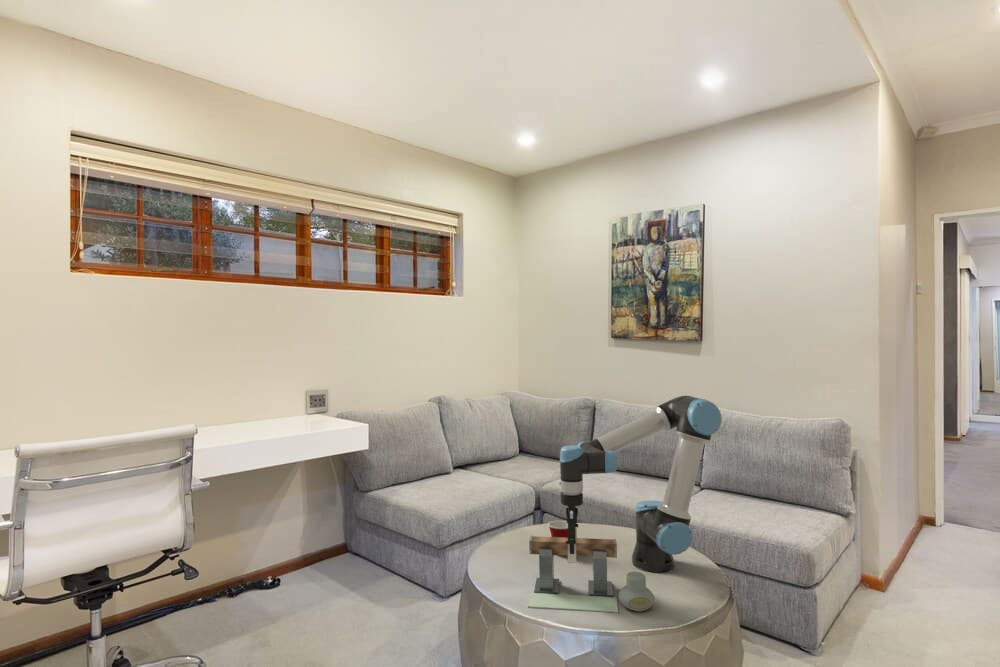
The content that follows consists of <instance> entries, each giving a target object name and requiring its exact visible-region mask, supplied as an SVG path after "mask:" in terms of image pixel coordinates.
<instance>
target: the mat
mask: <svg viewBox="0 0 1000 667" xmlns="http://www.w3.org/2000/svg"><path fill="white" fill-rule="evenodd" d="M529 596H530V598H529V602H528V606H527V608H529V609H531V608H532V609H545V610H546V609H547V610H548V609H549V610H563V611H564V610H565V611H567V610H568V611H582V612H598V613H600V612H601V613H617V614H618V613H619V608H618V600H617V596H615V597H614V596H613V597H600V596H589V595H579V594H578V595H576V594H559V593H558V594H543V593H534V592H530V594H529Z"/></svg>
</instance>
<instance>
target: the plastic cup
mask: <svg viewBox="0 0 1000 667" xmlns="http://www.w3.org/2000/svg"><path fill="white" fill-rule="evenodd" d="M547 525H548V527H549V532H550V537H562V538H568V523H567V520H552V521H549V522H548V523H547ZM561 556H563V557H566V556H565V555H558V556H557V557H561Z"/></svg>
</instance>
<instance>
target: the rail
mask: <svg viewBox="0 0 1000 667" xmlns="http://www.w3.org/2000/svg"><path fill="white" fill-rule="evenodd" d="M570 540H571V539H570ZM566 541H568V538H562V537H551V536H534V535H530V537H529V541H528V543H529V546H528V547H529V551H528V552H529V555H539V548H552V555H554V556H557V555H565V556H564V557H568V544H566ZM593 550H602V551H607V558H618V544H617V538H613V539H612V538H587V537H586V538H585V537H577V538H576V557H587V558H588V557H590V558H593Z"/></svg>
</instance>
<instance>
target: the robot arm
mask: <svg viewBox="0 0 1000 667" xmlns="http://www.w3.org/2000/svg"><path fill="white" fill-rule="evenodd" d="M719 409H720V408H719V407H718V406H717V405H716V404H715V403H714V402H712V401H709V400H707V399H705V398H700V397H694V396H691V395H681V396H678V397H675V398H672V399H670V400H667V401H665V402H664V403H661V404H659V405H657V406H655V407H654V409H653V411H651V412H649V413H646V414H645V415H643V416H641V417H639V418H638V417H637V419H634V420H633V421H632V420H631V422H628V423H626V424H624V425H621V426H619V427H618V428H616V429H614V430H612V431H609V432H607V433H605V434H603V435H601V436H599V437H597V438H595V439H592V440H590V441H581V442H579V443H578V444H577V445H571V444H569V445H564V446H562V447H561V448H560V450H559V452H560V453H559V464H560V465H559V468H560V481H559V482H558V485H559V486H560V503H561V504H562V505H563V506H567V507H566V508H565V516H566V521H567V523H568V541H566V544H568V556H567V563H568V564H577V556H576V538H578V537H577V536H578V532H577V530H578V529H577V528H579V524H578V515H579V514H578V513H579V511H578V510H579V509H578V507H580V506H581V505H583V504H584V494H583V491H584V482H583V481H584V480H583V476H584V475H592V474H594V475H596V474H597V475H598V474H606V475H608V474H611V473H616V471H617V470H618V456H617V454H616V453H617V452H620V451H622V450H624V449H626V448H628V447H630V446H632V445H635V444H637V443H639V442H641V441H642V440H645V439H646V438H649V437H651V436H652V435H653V436H654V435H655V434H657V433H659V432H661V431H664V430H665V431H670V430H673V429H674V428H676V431H675V432H676V434H677V436H678V442H677V445H676V450H675V453H674V456H673V461H672V466H671V470H670V473H669V477H668V481H667V485H666V489H665V493H664V497H663V501H662V500H643V501H639V502H637V503H636V505H635V511H634V512H635V533H636V534H635V535H636V536H635V538H636V542H635V546H634V548H633V551H632V556H631V564H632V565H633V566H634V567H636V568H638V569H640V570H642V571H645V572H649V573H650V572H652V573H663V572H669V571H671V570H673V569H674V567H675V559H674V556H676V555H680V554H683V553H684V552H686V551H687V550H688V549H689V548H690V547H691V545H692V542H693V532H692V530H691V528H690V523H691V520H692V517H691V515H690V513H689V508H690V503H691V500H692V495H693V491H694V488H695V483H696V480H697V476H698V471H699V467H700V464H701V459H702V455H703V452H704V451H703V450H704V447H705V445H706V444H707V443H710V442H711V438H712V435H714V434H715V433H716V432H718V431H719V429H720V427H721V424H722V413H721V411H720V410H719ZM570 539H571V540H570Z"/></svg>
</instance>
